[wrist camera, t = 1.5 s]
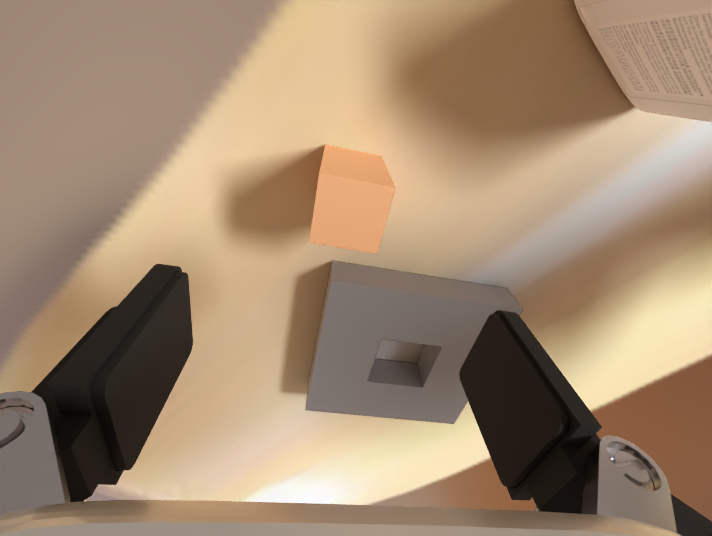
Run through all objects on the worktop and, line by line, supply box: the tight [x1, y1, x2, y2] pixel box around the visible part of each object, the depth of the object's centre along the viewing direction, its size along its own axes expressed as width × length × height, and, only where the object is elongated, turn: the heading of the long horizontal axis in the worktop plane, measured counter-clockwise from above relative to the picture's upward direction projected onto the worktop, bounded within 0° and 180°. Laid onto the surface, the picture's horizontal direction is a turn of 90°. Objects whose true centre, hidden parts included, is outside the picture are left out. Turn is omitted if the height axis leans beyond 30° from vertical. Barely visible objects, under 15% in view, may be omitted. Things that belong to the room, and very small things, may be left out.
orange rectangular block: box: [309, 145, 395, 254], centre depth 21 cm, size 4×4×7 cm
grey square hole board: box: [305, 261, 523, 424], centre depth 31 cm, size 16×16×3 cm
